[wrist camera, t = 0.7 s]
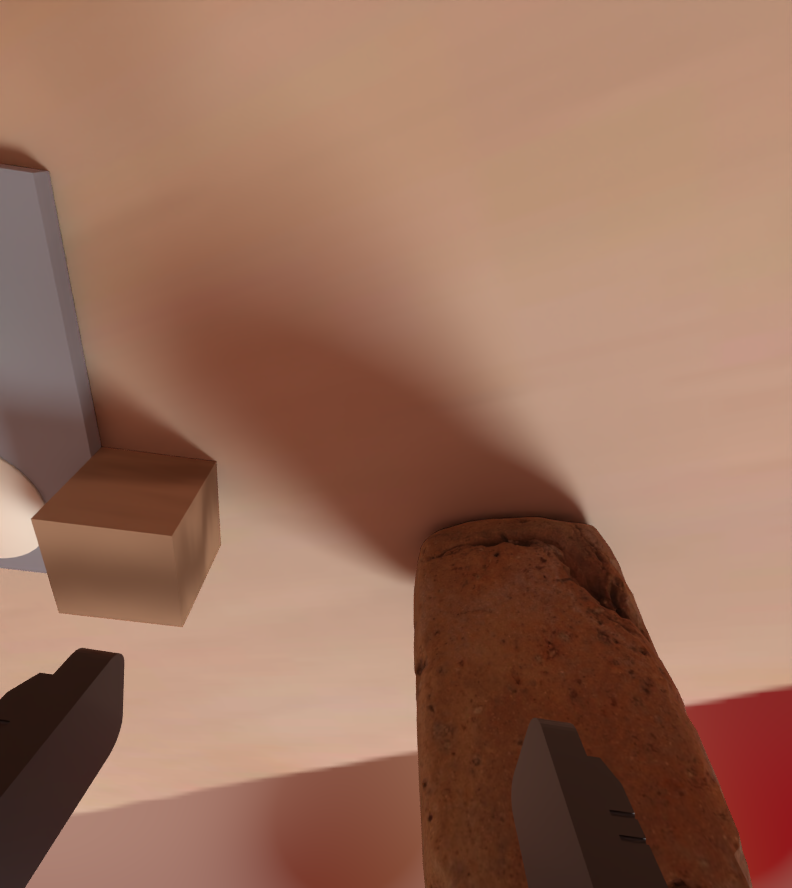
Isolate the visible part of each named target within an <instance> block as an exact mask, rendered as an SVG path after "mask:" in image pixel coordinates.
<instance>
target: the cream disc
mask: <svg viewBox="0 0 792 888" xmlns="http://www.w3.org/2000/svg"><path fill="white" fill-rule="evenodd" d="M44 505H45V502H44V500H43V498H42V496H41V494H40V493H39V491H38V490H37V488H36V487H35V486H34V485H33V484H32V482H31V481H30V480H29V479H28V478H27V477H26V476H25V475H24V474H23V473H22V472H21V471H19V470H18V469H17V468H16V467H14V466H13V465H12V464H10V463H9V462H7V461H6V460H4V459H3V458H1V457H0V558H12V557H18V556H22V555H25V554H27V553H30V552H31V551H33V550H34V549H36V548H37V547H38V546H39V545H38V541H37V538H36V535H35V531H34V528H33V525H32V521H31V518H32V517H33V516H34V515H35V514H36V513H37V512H38V511H39V510H40V509H41V508H42V507H43V506H44Z"/></svg>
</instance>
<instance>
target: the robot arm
mask: <svg viewBox="0 0 792 888" xmlns="http://www.w3.org/2000/svg"><path fill="white" fill-rule="evenodd" d="M123 688H124V657H123V655H122V654H119V653H112V652H106V651H99V650H92V649H86V648H80V649H78V650H76V651H75V652H74V653H73V654H72V655H71V656H70V657H69V658H68V659H67V660H66V661H65V662H64V663H63V664H62V666H61V667H60V668H59V669H58V670H57V671H56V672H55V673H54V674H53V675H52V674H45V673H39V674H37V675H35V676H34V677H32V678H30V679H29V680H27V681H25V682H23V683H22V684H20V685H18V686H17V687H15V688H13V689H12V690H10V691H8V692H7V693H6V694H5V695H4V696H3V697H2V698H1V699H0V888H25V887H26V885H27V883H28V882H29V880H30V879H31V877H32V875H33V874H34V872H35V871H36V869H37V868H38V866H39V865H40V863H41V861H42V860H43V858H44V857H45V855H46V854H47V852H48V850H49V849H50V847H51V846H52V844H53V843H54V841H55V839H56V838H57V836H58V835H59V833H60V831H61V830H62V828H63V827H64V825H65V824H66V822H67V821H68V819H69V817H70V816H71V814H72V813H73V811H74V810H75V808H76V807H77V805H78V803H79V802H80V800H81V799H82V797H83V796H84V794H85V792H86V791H87V789H88V788H89V786H90V785H91V783H92V781H93V780H94V778H95V777H96V775H97V774H98V772H99V770H100V769H101V767H102V766H103V764H104V763H105V761H106V759H107V758H108V756H109V755H110V753H111V751H112V749H113V747H114V745H115V743H116V740H117V738H118V735H119V732H120V728H121V724H122V717H123ZM511 803H512V812H513V818H514V822H515V827H516V832H517V836H518V841H519V846H520V850H521V855H522V860H523V864H524V869H525V874H526V878H527V883H528V888H668V886H667V884H666V881H665V879H664V877H663V875H662V872H661V870H660V868H659V866H658V864H657V861H656V859H655V857H654V855H653V852H652V850H651V848H650V846H649V845H647V844H646V837H645V835H644V832H643V830H642V828H641V826H640V824H639V821H638V819H635V812H634V810H633V808H632V806H631V804H630V801H629V799H628V797H627V795H626V792H625V790H624V788H623V786H622V784H621V783H620V781H619V780H618V779H617V778H616V776H615V775H614V774H613V773H612V772H611V770H610V769H609V768H608V767H607V766H606V764H605V763H604V762H603V761H602V759H601V758H599V757H593V756H587V754H586V752H585V749H584V747H583V744H582V742H581V739H580V737H579V734H578V732H577V730H576V728H575V726H574V725H573V724H571V723H567V722H560V721H554V720H547V719H541V718H533V719H532V720H531V721H530V723H529V726H528V729H527V732H526V735H525V739H524V742H523V745H522V749H521V752H520V755H519V758H518V762H517V765H516V768H515V772H514V775H513V780H512V789H511Z"/></svg>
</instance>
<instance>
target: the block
mask: <svg viewBox="0 0 792 888" xmlns="http://www.w3.org/2000/svg"><path fill="white" fill-rule="evenodd" d="M414 630H415V632H414V669H415V674H416V701H417V744H418V765H419V791H420V809H421V830H422V852H423V853H422V854H423V869H424V880H425V888H528V883H527V878H526V874H525V869H524V864H523V860H522V855H521V850H520V846H519V841H518V836H517V832H516V827H515V822H514V818H513V812H512V803H511V789H512V780H513V775H514V772H515V768H516V765H517V762H518V758H519V755H520V752H521V749H522V745H523V742H524V739H525V735H526V732H527V729H528V726H529V723H530V721H531V720H532V719H533V718H541V719H547V720H554V721H560V722H567V723H571V724H573V725H574V726H575V728H576V730H577V732H578V734H579V737H580V739H581V742H582V744H583V747H584V749H585V752H586V754H587V756H593V757H599V758H601V759H602V761H603V762H604V763H605V764H606V766H607V767H608V768H609V769H610V770H611V772H612V773H613V774H614V775H615V776H616V778H617V779H618V780H619V781H620V783H621V784H622V786H623V788H624V790H625V792H626V795H627V797H628V799H629V801H630V804H631V806H632V808H633V810H634V812H635V819H638V821H639V824H640V826H641V828H642V830H643V832H644V835H645V837H646V844H647V845H649V846H650V848H651V850H652V852H653V855H654V857H655V859H656V861H657V864H658V866H659V868H660V870H661V872H662V875H663V877H664V879H665V881H666V884H667V886H668V888H752V884H751V879H750V874H749V870H748V865H747V862H746V859H745V857H744V854H743V851H742V846H741V842H740V837H739V833H738V831H737V828H736V826H735V823H734V821H733V818H732V816H731V814H730V811H729V809H728V806H727V804H726V801H725V798H724V796H723V793H722V790H721V787H720V785H719V782H718V780H717V777H716V775H715V773H714V770H713V768H712V766H711V764H710V761H709V759H708V757H707V754H706V752H705V749H704V747H703V745H702V742H701V740H700V737H699V735H698V733H697V730H696V729H695V727H694V726H693V724H692V722H691V721H690V719H689V718H688V716H687V714H686V710H685V706H684V703H683V701H682V698H681V696H680V694H679V692H678V689H677V688H676V686H675V684H674V682H673V681H672V679H671V677H670V675H669V673H668V672H667V670H666V668H665V666H664V665H663V663H662V661H661V660H660V658H659V657H658V654H657V652H656V650H655V647H654V645H653V643H652V640H651V638H650V636H649V633H648V631H647V629H646V627H645V625H644V622H643V619H642V616H641V614H640V612H639V609H638V607H637V604H636V602H635V599H634V596H633V594H632V592H631V591H630V589H629V587H628V586H627V584H626V582H625V579H624V576H623V574H622V571H621V568H620V566H619V563H618V561H617V560H616V558H615V556H614V554H613V552H612V550H611V549H610V547H609V546H608V544H607V543H606V542H605V540H604V539H603V537H602V536H601V535H600V533H599V532H598V531H597V529H596V528H594V527H593V526H591V525H587V524H583V523H569V522H565V521H558V520H551V519H547V518H542V517H521V518H506V519H485V520H478V521H471V522H466V523H463V524H459V525H456V526H453V527H449V528H446V529H443V530H440V531H438V532H436V533H434V534H432V535H431V536H430V537H429V538H428V539H427V540H426V541H425V542H424V543H423V545H422V546H421V550H420V555H419V559H418V564H417V571H416V578H415V587H414Z"/></svg>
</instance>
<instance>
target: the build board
mask: <svg viewBox="0 0 792 888" xmlns="http://www.w3.org/2000/svg"><path fill="white" fill-rule="evenodd" d="M100 448H101V442H100V437H99V432H98V426H97V421H96V416H95V411H94V406H93V400H92V395H91V390H90V385H89V379H88V374H87V369H86V364H85V358H84V353H83V348H82V343H81V337H80V332H79V327H78V322H77V316H76V311H75V306H74V301H73V295H72V290H71V285H70V280H69V274H68V269H67V264H66V259H65V254H64V248H63V243H62V238H61V233H60V227H59V222H58V217H57V212H56V206H55V201H54V196H53V191H52V185H51V180H50V175H49V171H45V170H38V169H32V168H25V167H19V166H12V165H6V164H0V457H1V458H3V459H4V460H6V461H7V462H9V463H10V464H12V465H13V466H14V467H16V468H17V469H18V470H19V471H21V472H22V473H23V474H24V475H25V476H26V477H27V478H28V479H29V480H30V481H31V482H32V484H33V485H34V486H35V487H36V488H37V490H38V491H39V493H40V494H41V496H42V498H43V500H44V502H45V504H46V503H47V502H48V501H49V500H50V499H51V498H52V497H53V496H54V495H55V494H56V493H57V492H58V491H59V490H60V489H61V488H62V487H63V486H64V485H65V484H66V483H67V482H68V481H69V480H70V479H71V478H72V477H73V476H74V475H75V474H76V473H77V472H78V470H79V469H80V468H81V467H82V466H83V465H84V464H85V463H86V462H87V461H88V460H89V459H90V458H91V457H92V456H93V455H94V454H95V453H96V452H97V451H98V450H99V449H100ZM0 568H6V569H15V570H23V571H32V572H40V573H47V571H46V568H45V565H44V561H43V558H42V555H41V551H40V548H39V546H38V547H37V548H36V549H34V550H33V551H31V552H30V553H27V554H25V555H22V556H18V557H12V558H0Z"/></svg>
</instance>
